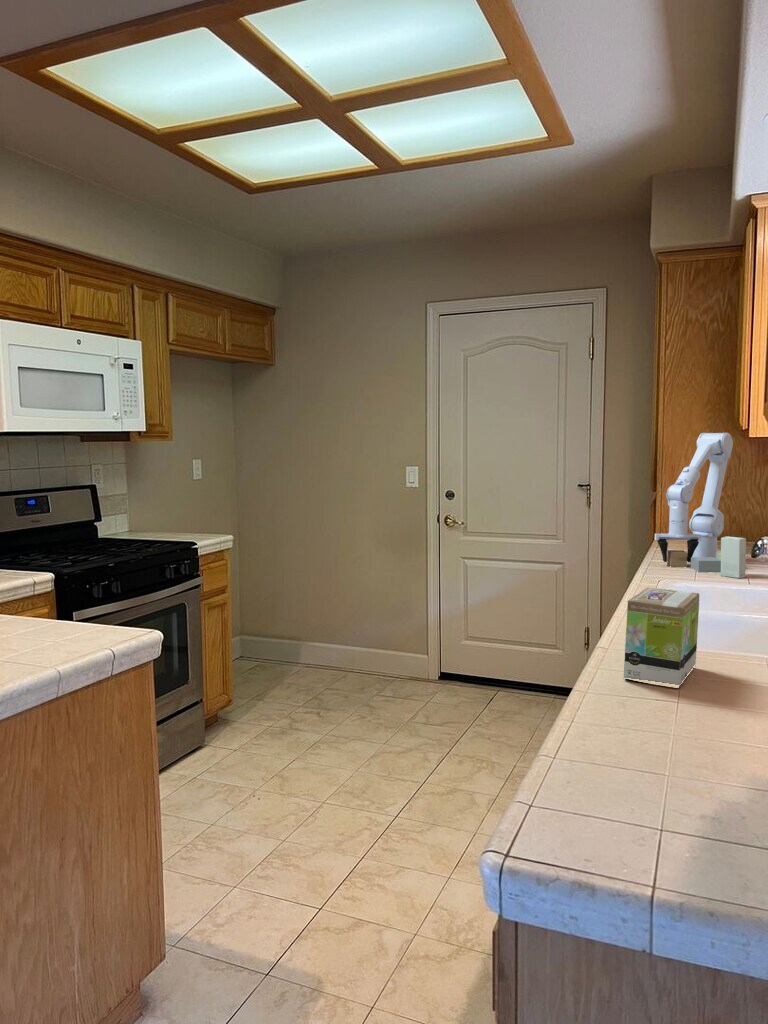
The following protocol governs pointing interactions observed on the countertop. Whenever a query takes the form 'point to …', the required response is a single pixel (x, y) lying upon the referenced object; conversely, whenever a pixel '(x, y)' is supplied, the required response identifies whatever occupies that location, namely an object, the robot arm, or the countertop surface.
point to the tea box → (661, 635)
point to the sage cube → (718, 555)
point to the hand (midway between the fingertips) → (676, 561)
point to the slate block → (706, 564)
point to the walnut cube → (677, 558)
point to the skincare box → (733, 557)
